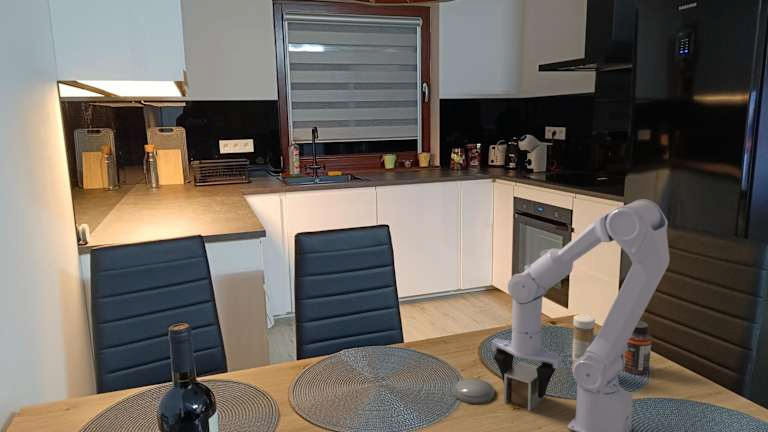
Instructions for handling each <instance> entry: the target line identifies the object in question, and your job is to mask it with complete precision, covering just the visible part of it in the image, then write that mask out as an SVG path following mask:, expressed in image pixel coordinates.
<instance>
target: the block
mask: <svg viewBox="0 0 768 432" xmlns="http://www.w3.org/2000/svg"><path fill="white" fill-rule="evenodd" d="M510 401H511V402H513V403H515V404H518V405H521V406H524V407H526V408H528V383H525V382H522V381H519V380H516V379H512V395H511V399H510Z"/></svg>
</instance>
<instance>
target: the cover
mask: <svg viewBox="0 0 768 432" xmlns="http://www.w3.org/2000/svg"><path fill="white" fill-rule="evenodd" d="M538 367H539V366H537V365H534V364H530V363H527V362H523V361H518V362H517V363H516V364H514V366H513V365H512V368H511V369H510V370H508V371H507V372H506V373H504V383H503V403H505V404H507V403H508V402H510V401H511V395H512V379H516V380H519V381H522V382H525V383H528V407H527V412H532V410H534V408H536V407H537V406H538V405H539V404H540V403H541V402H542V401H543V400H544V399H545V396H546V394H545V395H544V396H543V397H542V398H539V397H538V375H537V371H536V369H537V368H538Z"/></svg>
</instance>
